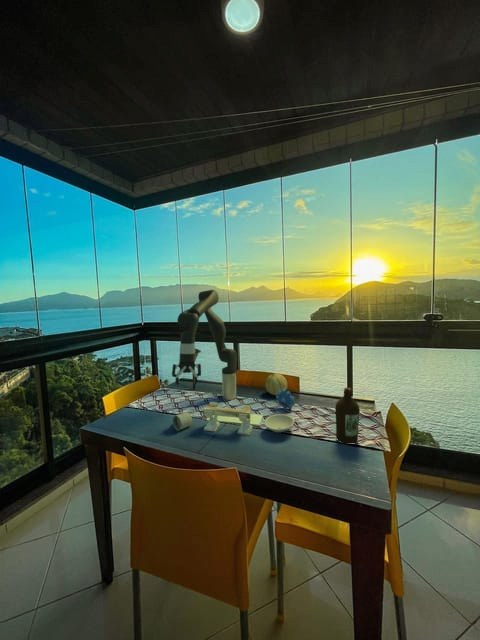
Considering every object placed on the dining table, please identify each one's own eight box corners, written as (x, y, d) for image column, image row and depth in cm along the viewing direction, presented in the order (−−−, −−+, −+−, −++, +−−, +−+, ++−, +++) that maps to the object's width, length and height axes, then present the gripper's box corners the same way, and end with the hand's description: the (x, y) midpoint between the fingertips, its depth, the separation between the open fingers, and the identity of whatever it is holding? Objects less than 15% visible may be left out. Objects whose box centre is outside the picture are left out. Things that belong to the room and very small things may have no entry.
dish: (285, 442, 132) (285, 432, 131) (258, 434, 140) (258, 425, 139) (299, 427, 147) (299, 417, 146) (274, 420, 154) (273, 412, 154)
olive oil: (330, 435, 137) (331, 386, 135) (349, 433, 139) (350, 384, 137) (343, 447, 127) (344, 393, 124) (363, 444, 129) (365, 391, 127)
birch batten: (206, 411, 149) (206, 406, 148) (250, 416, 143) (250, 410, 142) (204, 414, 146) (204, 408, 145) (249, 418, 140) (249, 412, 139)
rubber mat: (213, 411, 168) (213, 410, 168) (263, 416, 160) (263, 415, 160) (206, 420, 156) (206, 419, 156) (259, 425, 149) (259, 424, 149)
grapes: (273, 409, 169) (273, 390, 168) (277, 405, 175) (277, 386, 174) (292, 413, 163) (292, 393, 162) (295, 408, 169) (295, 389, 168)
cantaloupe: (291, 394, 194) (291, 372, 192) (279, 400, 183) (278, 377, 181) (273, 389, 204) (273, 369, 202) (261, 395, 193) (260, 373, 191)
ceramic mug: (193, 426, 150) (193, 412, 149) (181, 432, 143) (180, 418, 143) (181, 421, 157) (180, 407, 156) (169, 426, 150) (168, 412, 150)
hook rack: (209, 422, 153) (208, 401, 152) (252, 427, 147) (252, 405, 146) (203, 430, 145) (202, 408, 144) (249, 435, 139) (248, 412, 138)
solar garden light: (183, 392, 202) (181, 351, 199) (189, 386, 214) (187, 347, 211) (199, 392, 200) (198, 351, 197) (204, 387, 212) (203, 347, 209)
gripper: (199, 351, 148) (198, 382, 147) (172, 351, 143) (171, 383, 143) (202, 353, 141) (201, 385, 140) (173, 353, 136) (172, 387, 136)
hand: (186, 384), depth 141 cm, fingers open, 8 cm apart
